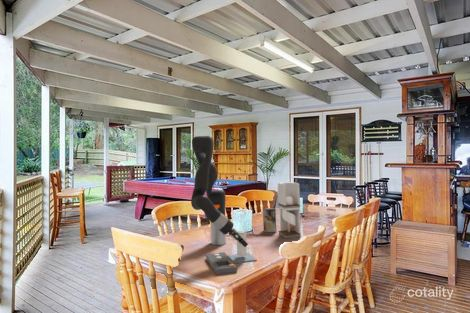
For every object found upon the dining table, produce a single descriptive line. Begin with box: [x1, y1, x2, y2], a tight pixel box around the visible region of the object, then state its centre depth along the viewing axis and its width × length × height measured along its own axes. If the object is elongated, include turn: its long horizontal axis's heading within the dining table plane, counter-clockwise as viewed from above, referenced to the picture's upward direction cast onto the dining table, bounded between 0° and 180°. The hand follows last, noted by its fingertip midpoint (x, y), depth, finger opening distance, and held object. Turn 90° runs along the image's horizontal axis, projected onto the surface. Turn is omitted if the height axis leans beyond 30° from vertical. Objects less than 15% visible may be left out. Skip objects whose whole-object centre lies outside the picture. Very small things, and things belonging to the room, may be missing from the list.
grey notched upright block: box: [277, 181, 302, 238], centre depth 217 cm, size 11×11×35 cm
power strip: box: [205, 252, 238, 275], centre depth 163 cm, size 28×10×3 cm, turn 16°
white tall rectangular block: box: [236, 230, 248, 257], centre depth 170 cm, size 4×4×12 cm
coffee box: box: [262, 207, 277, 233], centre depth 230 cm, size 9×6×16 cm
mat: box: [227, 252, 257, 264], centre depth 170 cm, size 12×12×1 cm
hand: (245, 244), depth 171 cm, fingers closed on white tall rectangular block, 4 cm apart
